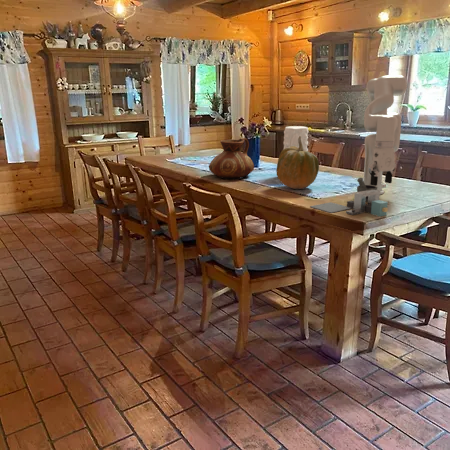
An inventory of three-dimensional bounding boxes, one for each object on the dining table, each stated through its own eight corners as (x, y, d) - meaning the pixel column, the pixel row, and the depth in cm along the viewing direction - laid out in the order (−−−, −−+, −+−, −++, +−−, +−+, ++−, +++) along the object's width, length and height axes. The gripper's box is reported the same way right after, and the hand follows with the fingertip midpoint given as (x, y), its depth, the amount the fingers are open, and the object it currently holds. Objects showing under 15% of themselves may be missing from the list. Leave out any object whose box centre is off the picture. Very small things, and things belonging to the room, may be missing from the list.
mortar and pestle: (367, 197, 232) (369, 174, 229) (380, 200, 224) (382, 177, 221) (350, 199, 228) (351, 176, 224) (362, 203, 220) (364, 179, 216)
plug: (377, 212, 203) (378, 199, 201) (389, 215, 197) (390, 202, 196) (370, 214, 201) (371, 201, 199) (382, 217, 195) (383, 204, 194)
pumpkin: (302, 182, 272) (304, 133, 263) (326, 190, 249) (329, 136, 240) (268, 185, 264) (269, 134, 255) (289, 194, 241) (291, 138, 232)
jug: (235, 182, 275) (235, 142, 268) (199, 177, 292) (197, 139, 285) (262, 175, 297) (262, 137, 290) (226, 171, 315) (225, 135, 308)
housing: (378, 206, 214) (379, 187, 211) (385, 207, 211) (386, 189, 208) (345, 213, 202) (347, 194, 200) (352, 215, 199) (354, 195, 196)
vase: (306, 173, 300) (308, 125, 291) (308, 178, 285) (310, 127, 276) (281, 173, 302) (282, 126, 293) (282, 178, 287) (283, 127, 278)
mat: (330, 203, 221) (330, 202, 221) (352, 208, 210) (352, 207, 210) (309, 207, 214) (309, 206, 214) (331, 213, 203) (331, 212, 203)
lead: (351, 206, 215) (351, 200, 215) (376, 213, 203) (377, 207, 202) (346, 207, 214) (347, 201, 213) (372, 214, 201) (372, 207, 200)
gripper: (378, 147, 184) (375, 187, 189) (404, 144, 193) (400, 183, 198) (364, 145, 190) (361, 184, 195) (389, 143, 199) (386, 180, 204)
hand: (381, 183), depth 196 cm, fingers open, 9 cm apart
